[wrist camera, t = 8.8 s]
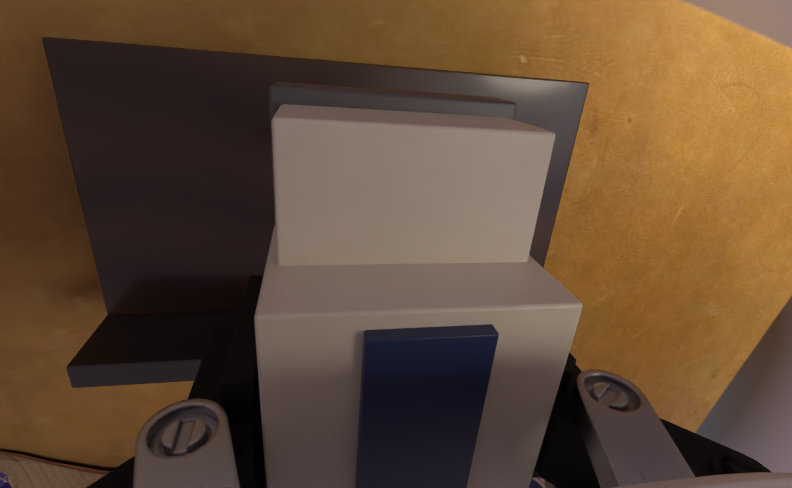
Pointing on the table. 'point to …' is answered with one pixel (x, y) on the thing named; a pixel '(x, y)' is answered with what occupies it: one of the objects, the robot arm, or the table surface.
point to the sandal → (43, 473)
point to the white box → (406, 292)
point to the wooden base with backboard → (215, 182)
